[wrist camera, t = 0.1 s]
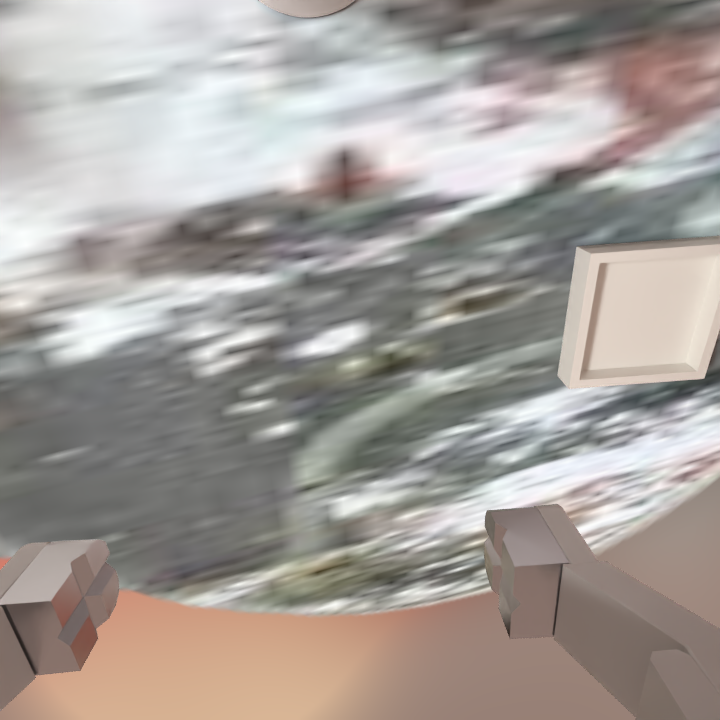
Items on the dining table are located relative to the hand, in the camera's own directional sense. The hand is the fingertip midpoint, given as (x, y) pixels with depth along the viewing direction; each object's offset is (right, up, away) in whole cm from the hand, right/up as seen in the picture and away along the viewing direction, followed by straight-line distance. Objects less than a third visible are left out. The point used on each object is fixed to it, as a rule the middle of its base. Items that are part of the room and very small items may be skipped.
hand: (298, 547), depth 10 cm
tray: (+31, +9, +40) cm, 52 cm away
